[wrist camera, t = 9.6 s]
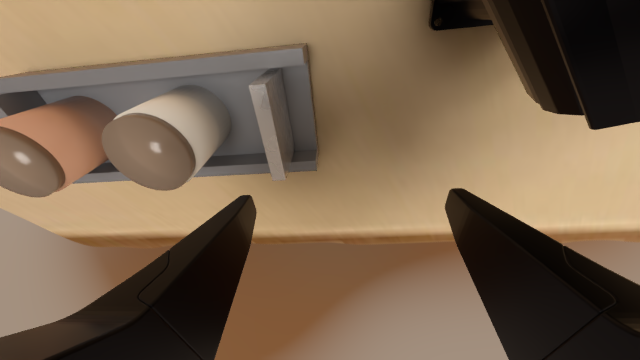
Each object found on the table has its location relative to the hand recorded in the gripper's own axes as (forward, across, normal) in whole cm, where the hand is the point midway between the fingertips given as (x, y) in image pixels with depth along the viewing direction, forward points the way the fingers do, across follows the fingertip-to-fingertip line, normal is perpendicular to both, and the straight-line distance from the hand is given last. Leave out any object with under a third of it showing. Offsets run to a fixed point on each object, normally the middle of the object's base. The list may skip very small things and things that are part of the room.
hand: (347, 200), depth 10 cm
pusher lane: (+13, +14, 0) cm, 19 cm away
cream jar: (+12, +12, 0) cm, 17 cm away
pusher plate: (+12, +5, 0) cm, 13 cm away
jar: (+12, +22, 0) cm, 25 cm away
